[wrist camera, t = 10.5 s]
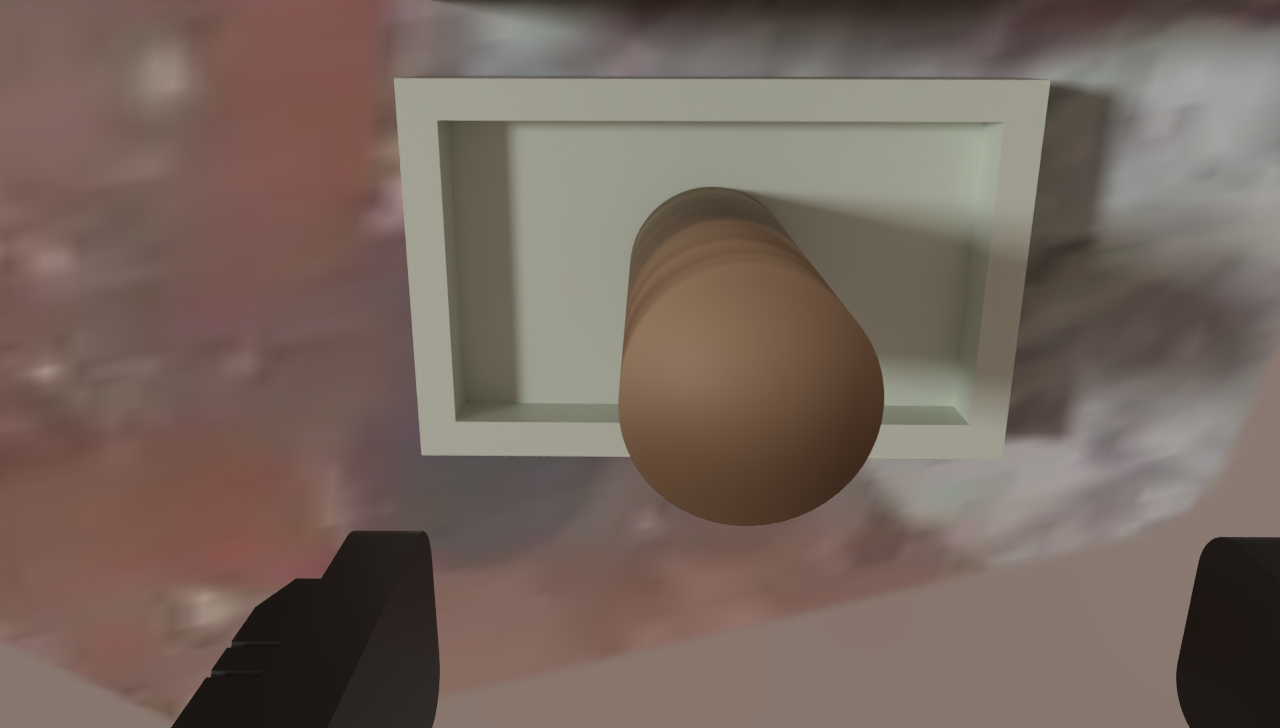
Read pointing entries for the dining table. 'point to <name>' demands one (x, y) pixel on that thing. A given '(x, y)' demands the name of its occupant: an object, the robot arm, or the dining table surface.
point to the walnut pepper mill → (740, 366)
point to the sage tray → (710, 157)
